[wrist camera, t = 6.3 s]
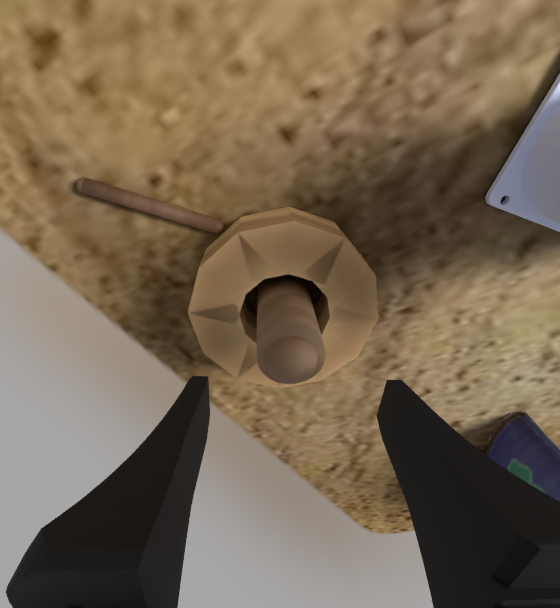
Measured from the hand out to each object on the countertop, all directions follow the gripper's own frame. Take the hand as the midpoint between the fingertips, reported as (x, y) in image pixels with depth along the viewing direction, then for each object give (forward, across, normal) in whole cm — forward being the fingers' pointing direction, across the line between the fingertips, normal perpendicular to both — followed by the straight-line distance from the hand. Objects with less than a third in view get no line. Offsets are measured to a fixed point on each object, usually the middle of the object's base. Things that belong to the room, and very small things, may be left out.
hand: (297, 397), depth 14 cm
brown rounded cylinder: (+9, 0, 0) cm, 9 cm away
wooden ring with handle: (+9, +4, -1) cm, 10 cm away
